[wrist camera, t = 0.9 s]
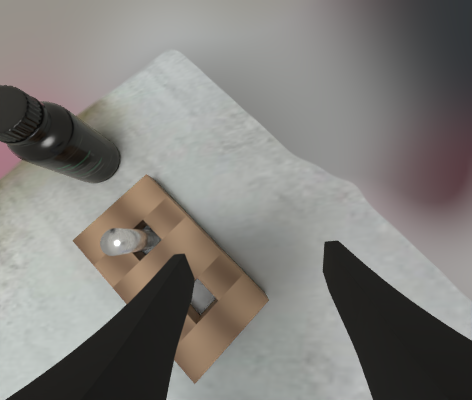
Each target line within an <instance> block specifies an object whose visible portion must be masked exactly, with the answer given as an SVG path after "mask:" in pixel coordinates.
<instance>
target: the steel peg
mask: <svg viewBox="0 0 472 400" xmlns="http://www.w3.org/2000/svg"><path fill="white" fill-rule="evenodd" d="M159 241H160V237H159V236H158V235H157V234H156V233H155V232H154V231H153V230H143V229H123V228H112V229H109V230H107V231H106V232H105V233H104V234H103V235H102V237H101V240H100V247H101V250H102V251H103V252H104V253H105V254H106V255H109V256H116V255H121V254H127V253H132V252H138V251H143V250H149V249H153V248H154V247H155V246H156V245H157V244H158V243H159Z"/></svg>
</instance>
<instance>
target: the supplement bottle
mask: <svg viewBox="0 0 472 400" xmlns="http://www.w3.org/2000/svg"><path fill="white" fill-rule="evenodd" d="M0 141H1V142H4V143H6V144H7V146H8V147H9V149H10V150H11V151H12V152H13V153H14V154H15V155H16V156H17V157H18V158H20V159H22V160H24V161H27V162H29V163H32V164H35V165H37V166H40V167H43V168H46V169H49V170H52V171H55V172H58V173H61V174H63V175H66V176H69V177H72V178H75V179H78V180H81V181H84V182H88V183H97V182H101V181H104V180H106V179H108V178H109V177H110V176H112V175H113V174H114V172H115V171H116V169H117V167H118V164H119V153H118V150H117V148H116V147H115V145H114V144H113V143H111V142H110V141H109V140H108V139H106V138H105V137H104V136H102V135H101V134H100V133H98V132H97V131H95V130H94V129H93V128H91V127H90V126H89V125H87V124H86V123H85V122H83V121H82V120H81V119H79V118H78V117H77V116H75V115H74V114H72V113H71V112H70V111H68V110H67V109H65V108H64V107H62V106H60V105H58V104H55V103H51V102H44V101H43V102H42V101H38V100H37V99H36V98H34V97H31V96H29V95H28V94H26V93H25V92H23V91H21V90H20V89H18V88H16V87H13V86H7V85H4V86H2V85H0Z"/></svg>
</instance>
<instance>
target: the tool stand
mask: <svg viewBox="0 0 472 400" xmlns="http://www.w3.org/2000/svg"><path fill="white" fill-rule="evenodd" d="M146 225H149V227H150V228H151V229H152V230H153V231H154V232H155V233H156V234H157V235H158V236H159V237H160V238H161V239H162V240H161V241H160V242H159V243H158V244H157V245H156V246H155V247H154V248H153V249H152V250H151V251H150V252H149V253H148V254H147V255H145V254H144V253H143V252H142V251H138V252H132V253H127V254H121V255H116V256H109V255H106V254H105V253H104V252H103V251H102V250H101V247H100V240H101V237H102V235H103V234H104V233H105V232H106V231H107V230H109V229H112V228H123V229H143V228H144V227H145V226H146ZM73 242H74V243H75V244H76V245H77V246H78V248H79V249H80V250H81V251H82V252H83V253H84V255H85V256H86V257H87V258H88V259H89V260H90V262H91V263H92V264H93V265H94V266H95V267H96V269H97V270H98V271H99V272H100V273H101V275H102V276H103V277H104V278H105V279H106V280H107V282H108V283H109V284H110V285H111V286H112V287H113V289H114V290H115V291H116V292H117V293H118V294H119V296H120V297H121V298H122V299H123V300H124V301H125V303H126V304H128V303H129V302H130V301H131V300H132V299H133V298H134V297H135V296H136V295H137V294H138V293H139V292H140V291H141V290H142V289H143V288H144V286H145V285H146V284H147V283H148V282H149V281H150V280H151V279H152V278H153V277H154V276H155V275H156V273H157V272H158V271H159V270H160V269H161V268H162V267H163V266H164V265H165V263H166V262H167V261H168V260H169V259H170V258H171V257H172V256H173V255H174V254H183V253H185V255H186V258H187V261H188V263H189V266H190V268H191V271H192V273H193V276H194V278H195V280H196V279H197V278H198V279H199V280H200V281H201V282H202V283H203V284H204V286H205V287H206V288H207V289H208V290H209V291H210V292H211V293H212V294H213V295H214V296H215V297H216V299H215V300H214V301H213V302H212V303H211V304H210V306H209V307H208V308H207V309H206V310H205V311H204V312H203V313H202V314H201V315H199V314H198V313H197V311H196V310H195V309H194V308H193V307H192V306H191V305H190V306H189V309H188V313H187V316H186V319H185V323H184V326H183V329H182V333H181V336H180V339H179V343H178V346H177V350H176V354H175V358H174V360H175V361H176V362H177V364H178V365H179V366H180V367H181V368H182V370H183V371H184V372H185V373H186V374H187V375H188V377H189V378H190V379H191V380H192V381H193V382H194V384H195V383H196V382H197V381H198V380H199V379H200V377H201V376H202V375H203V374H204V373H205V372H206V371H207V370H208V368H209V367H210V366H211V365H212V364H213V363H214V362H215V361H216V359H217V358H218V357H219V356H220V355H221V354H222V353H223V351H224V350H225V349H226V348H227V347H228V346H229V345H230V344H231V342H232V341H233V340H234V339H235V338H236V337H237V336H238V335H239V333H240V332H241V331H242V330H243V329H244V328H245V327H246V325H247V324H248V323H249V322H250V321H251V320H252V319H253V318H254V316H255V315H256V314H257V313H258V312H259V311H260V310H261V309H262V307H263V306H264V305H265V304H266V303H267V302H268V301H269V299H268V297H267V295H266V294H265V292H264V291H263V290H262V289H261V288H260V287H259V286H258V285H257V284H256V283H255V282H254V281H253V280H252V279H251V278H250V277H249V276H248V275H247V274H246V273H245V272H244V271H243V270H242V269H241V268H240V267H239V266H238V265H237V264H236V263H235V262H234V261H233V260H232V259H231V258H230V257H229V256H228V255H227V254H226V253H225V252H224V250H223V249H222V248H221V247H220V246H219V245H218V244H217V243H216V242H215V241H214V240H213V239H212V238H211V237H210V236H209V235H208V234H207V233H206V232H205V231H204V230H203V229H202V228H201V227H200V226H199V225H198V224H197V223H196V222H195V221H194V220H193V219H192V218H191V217H190V216H189V215H188V214H187V213H186V212H185V211H184V209H183V208H182V207H181V206H180V205H179V204H178V203H177V202H176V201H175V200H174V199H173V198H172V197H171V196H170V195H169V194H168V193H167V192H166V191H165V190H164V189H163V188H162V187H161V186H160V185H159V184H158V183H157V182H156V181H155V180H154V179H153V178H151V177H150V176H148V175H147V174H146V175H145V176H144V177H143V178H142V179H141V180H139V181H138V182H137V183H136V184H135V185H134V186H133V187H132V188H131V189H129V190H128V191H127V192H126V193H125V194H124V195H123V196H122V197H121V198H119V199H118V200H117V201H116V202H115V203H114V204H113V205H112V206H111V207H109V208H108V209H107V210H106V211H105V212H104V213H103V214H102V215H101V216H99V217H98V218H97V219H96V220H95V221H94V222H93V223H92V224H91V225H89V226H88V227H87V228H86V229H85V230H84V231H83V232H82V233H81V234H79V235H78V236H77V237H76V238H75V239H74V240H73Z"/></svg>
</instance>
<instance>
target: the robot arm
mask: <svg viewBox="0 0 472 400" xmlns="http://www.w3.org/2000/svg"><path fill="white" fill-rule="evenodd" d="M323 273H324V277H325V280H326V283H327V286H328V289H329V292H330V294H331V296H332V299H333V301H334V303H335V305H336V308H337V310H338V312H339V314H340V317H341V319H342V321H343V323H344V325H345V328H346V330H347V332H348V334H349V336H350V339H351V341H352V343H353V346H354V348H355V350H356V353H357V355H358V358H359V361H360V364H361V366H362V369H363V372H364V375H365V378H366V380H367V383H368V386H369V389H370V392H371V395H372V398H373V400H472V341H471V340H470V339H468V338H466V337H465V336H463V335H462V334H460V333H458V332H457V331H455V330H454V329H452V328H451V327H449V326H447V325H446V324H444V323H443V322H441V321H440V320H438V319H437V318H435V317H434V316H432V315H431V314H429V313H428V312H427V311H425V310H424V309H422V308H421V307H419V306H418V305H416V304H415V303H414V302H412V301H411V300H409V299H408V298H407V297H405V296H404V295H403V294H401V293H400V292H399V291H397V290H396V289H395V288H393V287H392V286H391V285H390V284H388V283H387V282H386V281H385V280H383V279H382V278H381V277H380V276H378V275H377V274H376V273H375V272H374V271H372V270H371V269H370V268H369V267H368V266H366V265H365V264H364V263H363V262H362V261H361V260H359V259H358V258H357V257H356V256H355V255H354V254H353V253H351V252H350V251H349V250H348V249H347V248H346V247H345V246H344V245H342V244H341V243H340V242H339V241H328V242H325V245H324V260H323ZM194 281H195V278H194V276H193V273H192V271H191V268H190V266H189V263H188V261H187V258H186V255H185V253H183V254H174V255H173V256H172V257H171V258H170V259H169V260H168V261H167V262H166V263H165V265H164V266H163V267H162V268H161V269H160V270H159V271H158V272H157V273H156V275H155V276H154V277H153V278H152V279H151V280H150V281H149V282H148V283H147V284H146V285H145V286H144V288H143V289H142V290H141V291H140V292H139V293H138V294H137V295H136V296H135V297H134V298H133V299H132V300H131V301H130V302H129V303H128V304H127V305H126V306H125V307H124V308H123V309H122V310H121V311H120V312H118V313H117V314H116V315H115V316H114V317H113V318H112V319H111V320H110V321H109V322H107V323H106V324H105V325H104V326H103V327H102V328H101V329H100V330H98V331H97V332H96V333H95V334H94V335H92V336H91V337H90V338H89V339H87V340H86V341H85V342H84V343H82V344H81V345H80V346H79V347H78V348H76V349H75V350H74V351H73V352H71V353H70V354H69V355H67V356H66V357H65V358H64V359H62V360H61V361H60V362H58V363H57V364H56V365H54V366H53V367H52V368H50V369H49V370H47V371H46V372H45V373H43V374H42V375H41V376H39V377H38V378H36V379H35V380H34V381H32V382H31V383H29V384H28V385H26V386H25V387H24V388H22V389H21V390H19V391H18V392H16V393H15V394H13V395H12V396H10V397H9V398H7V399H6V400H166V397H167V392H168V387H169V382H170V377H171V372H172V367H173V362H174V358H175V354H176V350H177V346H178V343H179V339H180V336H181V333H182V329H183V326H184V323H185V319H186V316H187V313H188V309H189V306H190V302H191V299H192V293H193V288H194Z"/></svg>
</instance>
